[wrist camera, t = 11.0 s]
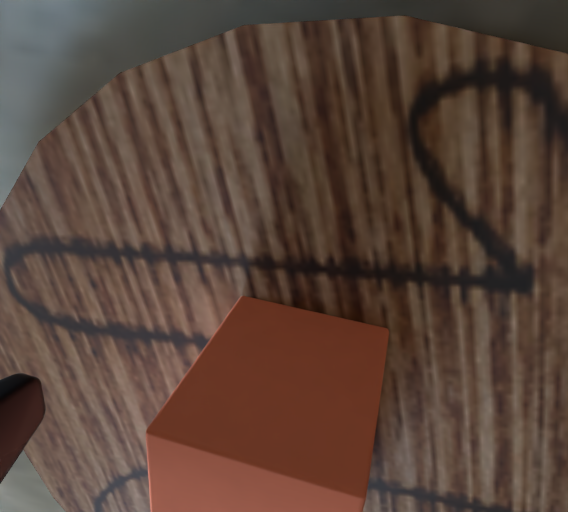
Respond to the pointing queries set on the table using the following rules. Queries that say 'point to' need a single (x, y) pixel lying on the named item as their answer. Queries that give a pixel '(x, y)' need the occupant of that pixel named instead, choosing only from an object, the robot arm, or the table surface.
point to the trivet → (307, 249)
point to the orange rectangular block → (271, 416)
